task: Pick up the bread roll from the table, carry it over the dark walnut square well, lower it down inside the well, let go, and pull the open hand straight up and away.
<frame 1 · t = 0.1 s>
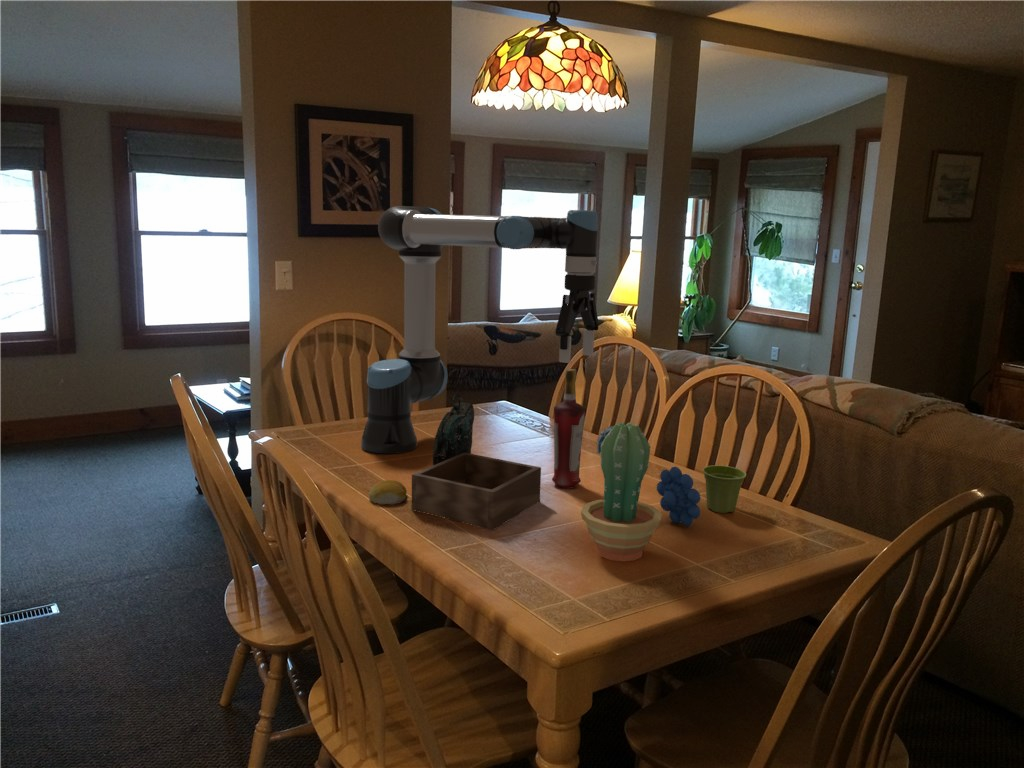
hand: (576, 358, 202), 28 cm above the table, tool pointing down, fingers open, 13 cm apart
liquor: (566, 485, 192), on the table
plant pot: (721, 509, 178), on the table
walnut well: (477, 505, 176), on the table
dark green bag: (454, 476, 197), on the table
potted cactus: (619, 552, 153), on the table
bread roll: (388, 500, 179), on the table
grapes: (673, 524, 169), on the table
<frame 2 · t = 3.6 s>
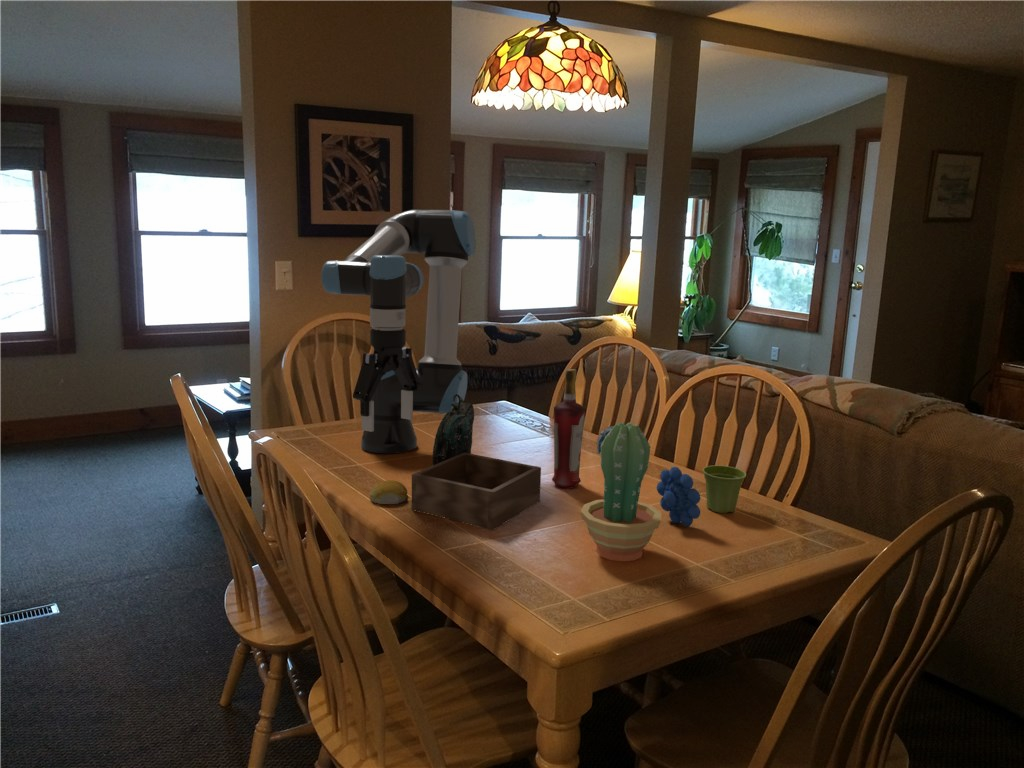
hand: (387, 424, 176), 17 cm above the table, tool pointing down, fingers open, 13 cm apart
nothing on the table moved.
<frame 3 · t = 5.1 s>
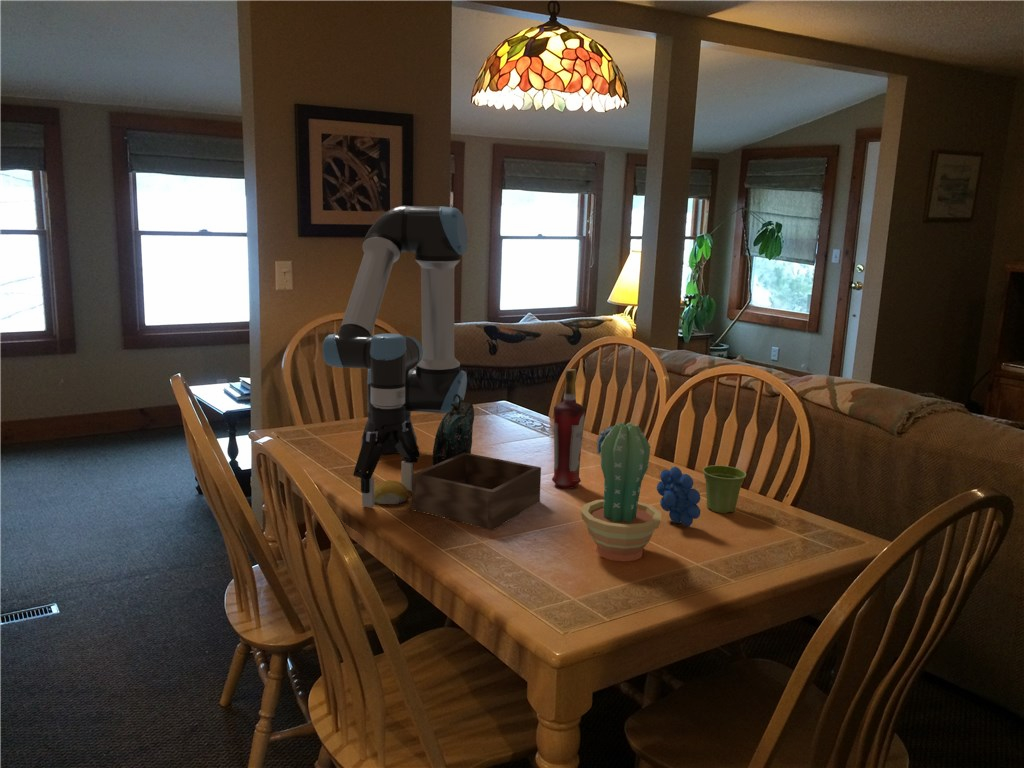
hand: (388, 498, 179), 0 cm above the table, tool pointing down, fingers open, 13 cm apart
nothing on the table moved.
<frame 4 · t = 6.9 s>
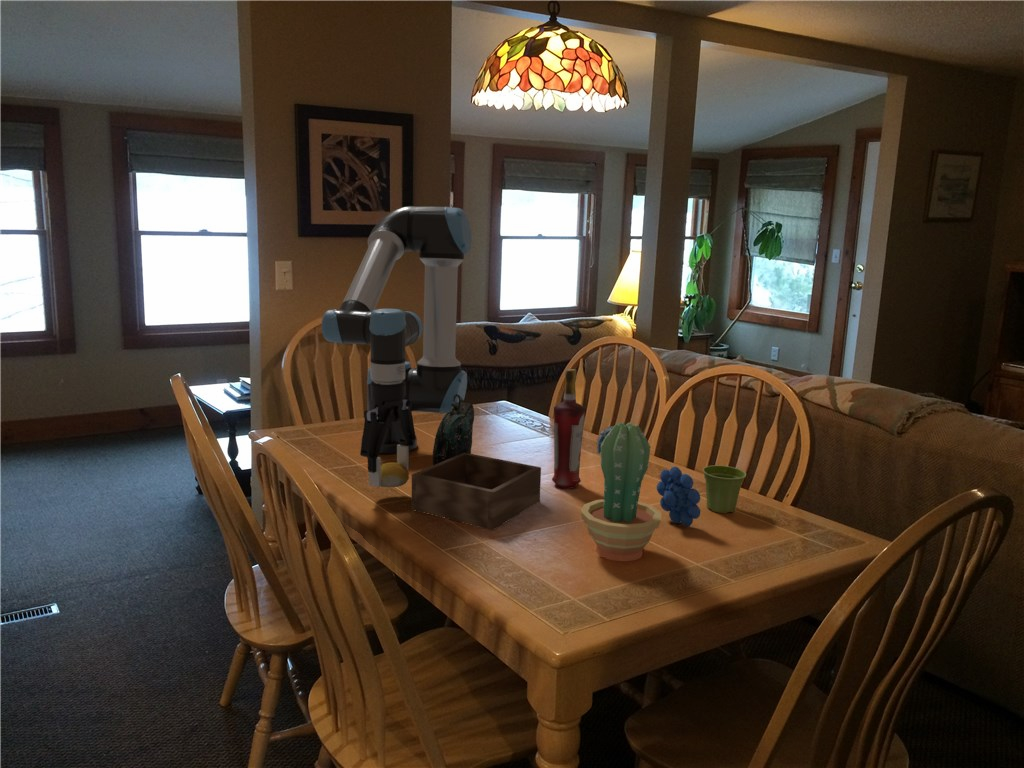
hand: (389, 478, 179), 4 cm above the table, tool pointing down, fingers closed on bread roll, 9 cm apart
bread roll: (391, 482, 179), point 4 cm above the table, touching gripper
everything else where it was.
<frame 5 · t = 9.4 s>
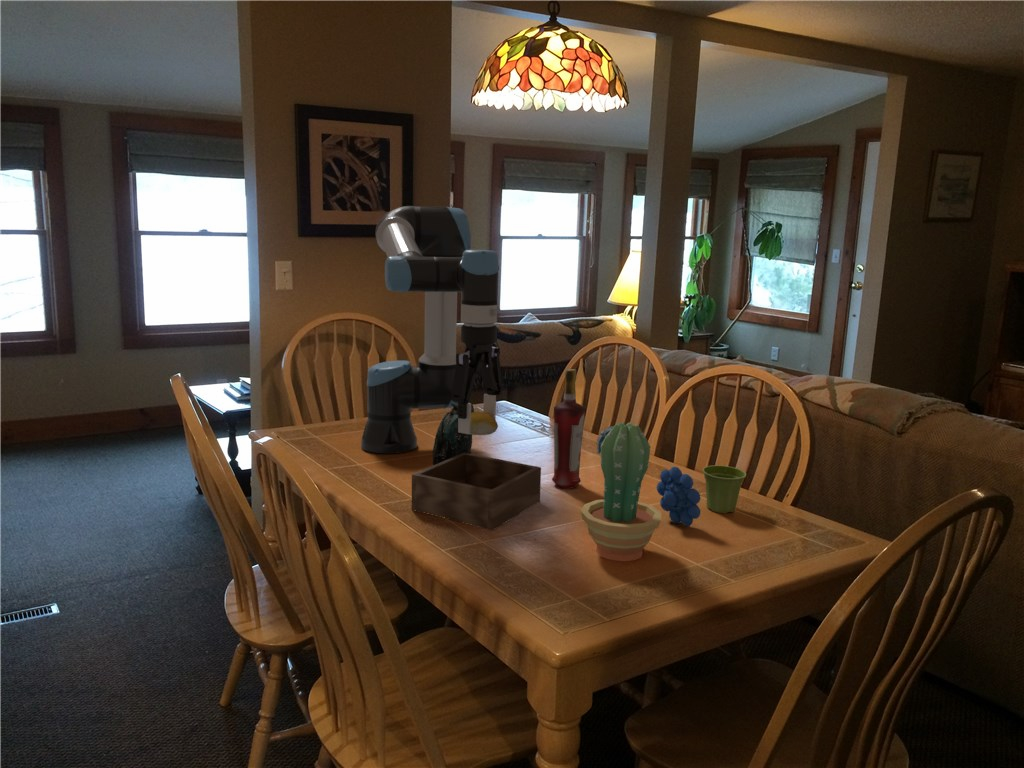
hand: (477, 428, 172), 18 cm above the table, tool pointing down, fingers closed on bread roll, 9 cm apart
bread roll: (478, 431, 172), point 17 cm above the table, touching gripper
everything else where it was.
when the fingers open (2 cm above the table, at t = 12.3 s): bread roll stays where it is, resting on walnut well.
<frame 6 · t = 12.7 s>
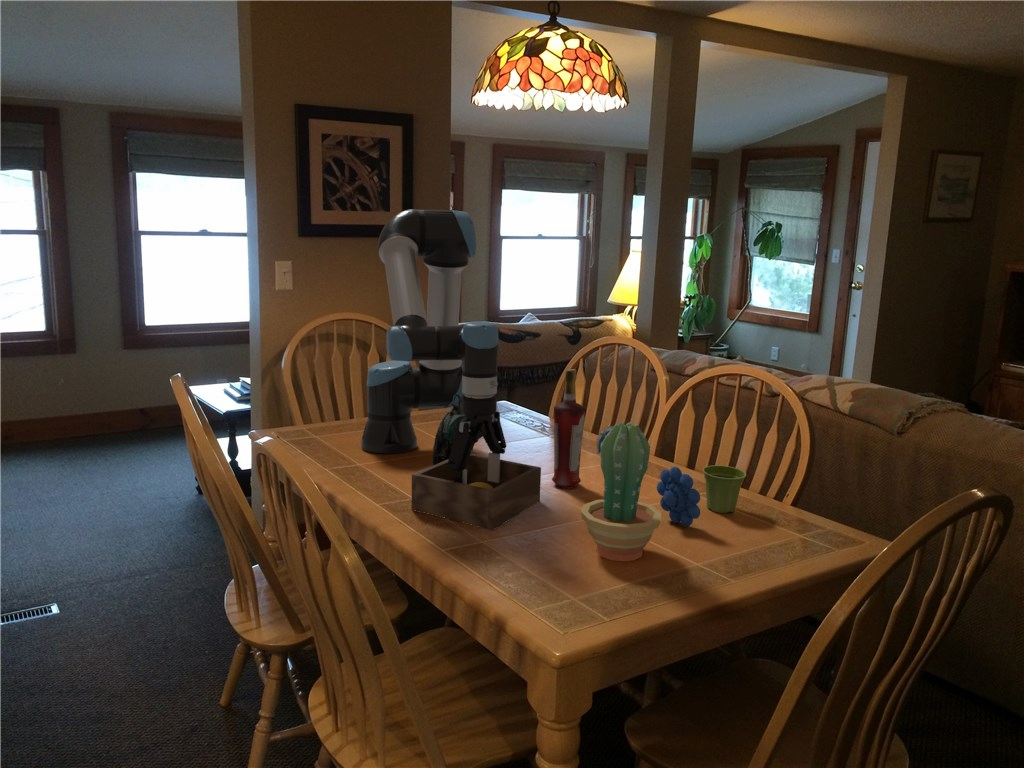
hand: (477, 489, 175), 4 cm above the table, tool pointing down, fingers open, 13 cm apart
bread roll: (479, 502, 176), point 1 cm above the table, touching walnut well
everything else where it was.
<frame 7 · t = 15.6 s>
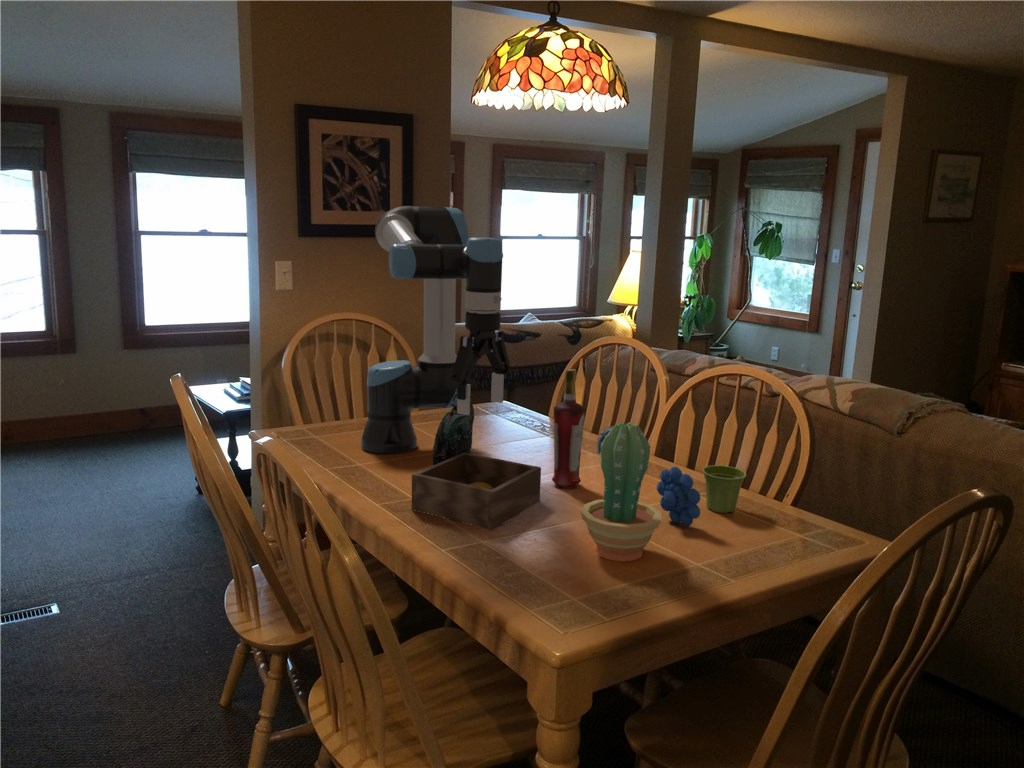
hand: (480, 408, 175), 21 cm above the table, tool pointing down, fingers open, 13 cm apart
nothing on the table moved.
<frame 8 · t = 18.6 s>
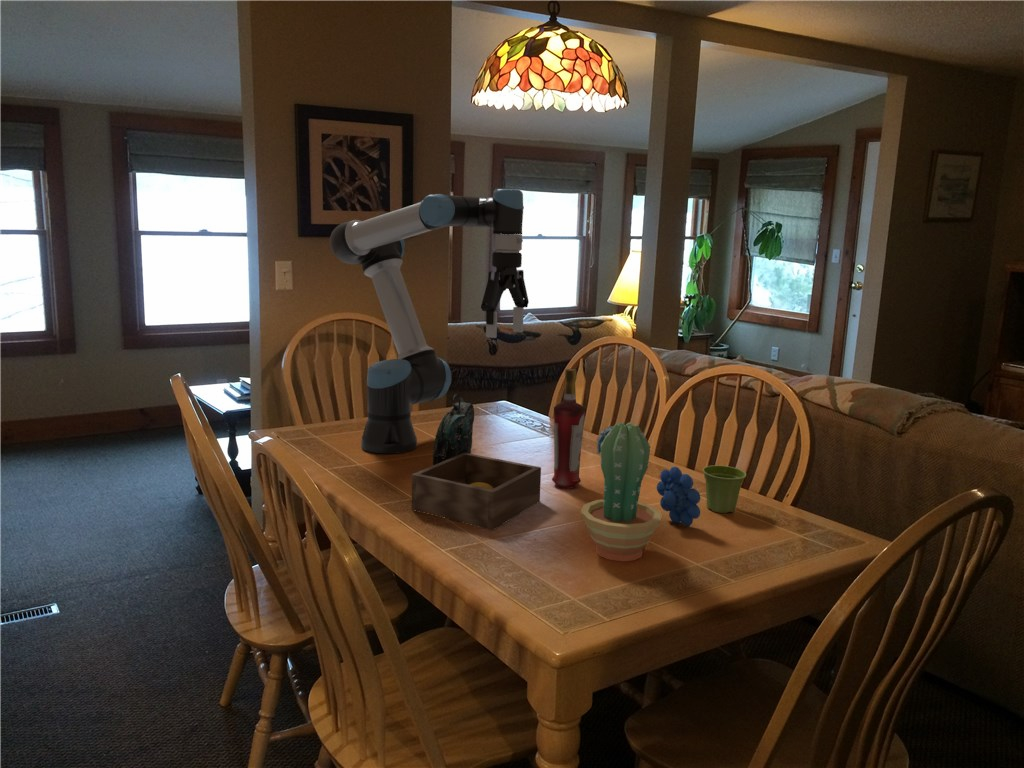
hand: (504, 334, 207), 33 cm above the table, tool pointing down, fingers open, 13 cm apart
nothing on the table moved.
at the end: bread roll inside the target area on the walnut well (0.6 cm from its centre), point 0.8 cm above the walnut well's base; the gripper is holding nothing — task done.
